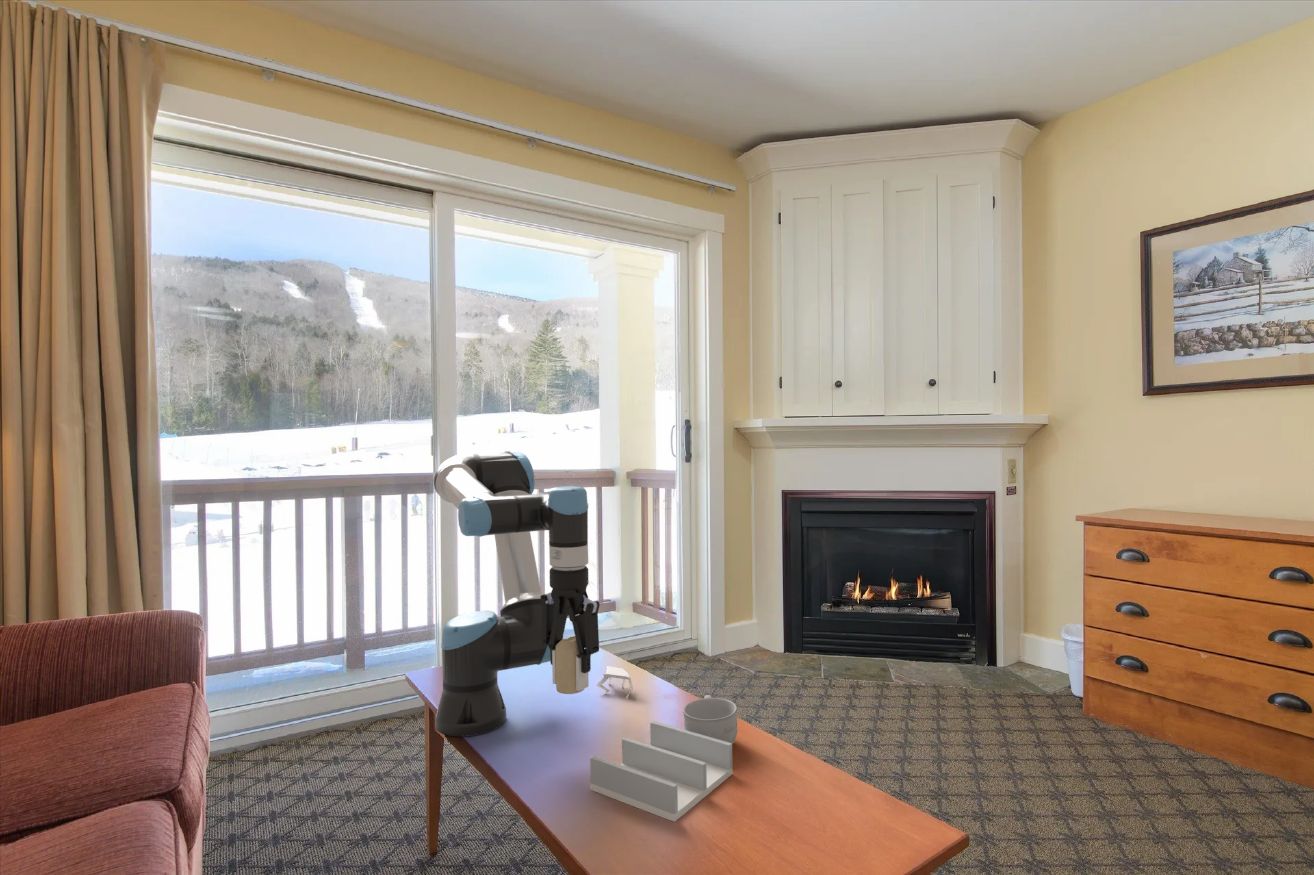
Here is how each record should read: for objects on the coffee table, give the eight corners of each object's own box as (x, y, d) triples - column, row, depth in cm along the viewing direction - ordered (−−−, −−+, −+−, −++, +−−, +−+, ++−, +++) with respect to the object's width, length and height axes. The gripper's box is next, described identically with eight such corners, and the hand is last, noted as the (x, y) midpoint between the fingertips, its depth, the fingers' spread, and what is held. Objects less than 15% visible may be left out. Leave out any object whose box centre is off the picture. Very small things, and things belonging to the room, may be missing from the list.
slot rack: (590, 789, 124) (590, 758, 124) (653, 749, 139) (653, 720, 139) (674, 822, 113) (673, 787, 113) (732, 774, 129) (732, 743, 129)
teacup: (735, 761, 134) (734, 719, 134) (679, 756, 136) (678, 715, 136) (741, 730, 148) (740, 692, 148) (690, 726, 150) (689, 689, 150)
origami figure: (587, 692, 170) (587, 672, 170) (610, 682, 177) (610, 663, 177) (624, 704, 163) (624, 683, 163) (647, 693, 169) (647, 673, 169)
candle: (570, 681, 140) (570, 632, 140) (590, 688, 136) (589, 637, 136) (550, 690, 136) (549, 639, 135) (569, 696, 132) (569, 644, 132)
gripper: (521, 564, 138) (523, 681, 138) (592, 575, 127) (593, 702, 127) (548, 558, 144) (549, 670, 144) (618, 568, 133) (619, 689, 134)
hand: (570, 684), depth 136 cm, fingers closed on candle, 5 cm apart
